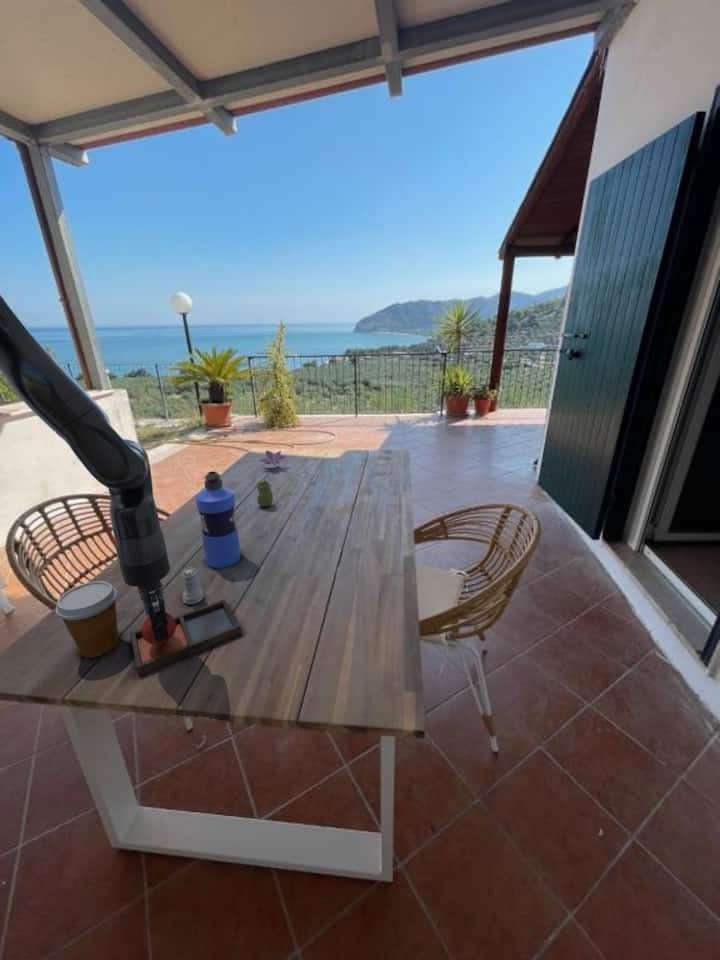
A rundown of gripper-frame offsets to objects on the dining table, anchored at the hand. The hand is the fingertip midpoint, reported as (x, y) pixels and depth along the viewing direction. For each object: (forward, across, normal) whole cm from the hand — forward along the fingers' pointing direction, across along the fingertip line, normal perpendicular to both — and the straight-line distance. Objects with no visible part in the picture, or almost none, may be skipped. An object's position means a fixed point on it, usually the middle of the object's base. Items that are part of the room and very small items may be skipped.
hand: (159, 628), depth 75 cm
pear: (+5, -53, +42) cm, 68 cm away
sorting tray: (+4, 0, +4) cm, 6 cm away
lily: (+5, -91, +62) cm, 110 cm away
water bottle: (+5, -26, +20) cm, 33 cm away
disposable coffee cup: (+5, -8, -10) cm, 13 cm away
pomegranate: (+4, 0, 0) cm, 4 cm away
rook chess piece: (+5, -12, +8) cm, 15 cm away
